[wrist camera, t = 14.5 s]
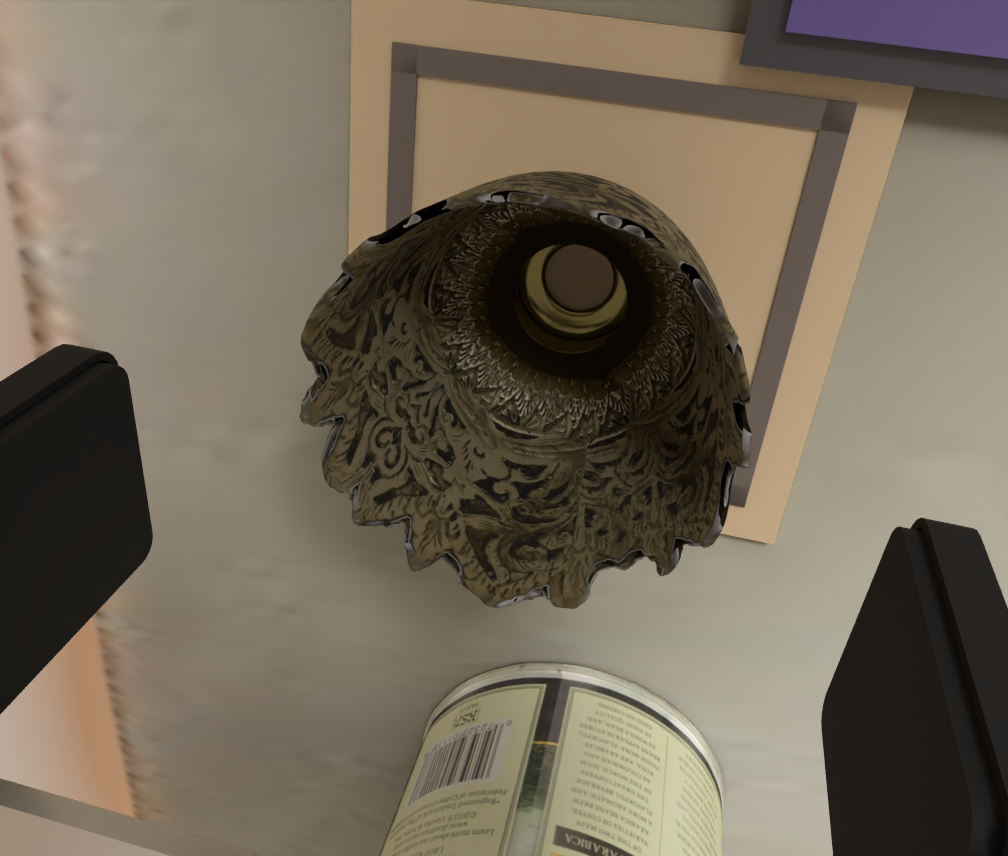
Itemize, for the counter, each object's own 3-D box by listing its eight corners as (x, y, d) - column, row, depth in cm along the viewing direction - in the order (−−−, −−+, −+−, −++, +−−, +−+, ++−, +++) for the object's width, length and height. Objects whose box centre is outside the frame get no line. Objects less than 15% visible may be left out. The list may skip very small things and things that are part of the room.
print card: (356, -15, 19) (350, -14, 19) (921, 55, 18) (924, 57, 17) (349, 450, 25) (344, 457, 25) (772, 538, 23) (774, 546, 23)
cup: (511, 451, 24) (426, 653, 17) (376, 200, 21) (211, 315, 14) (786, 355, 21) (822, 550, 14) (666, 52, 18) (637, 106, 11)
